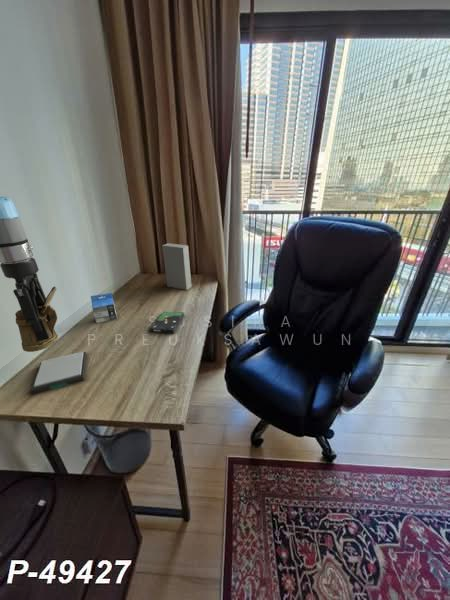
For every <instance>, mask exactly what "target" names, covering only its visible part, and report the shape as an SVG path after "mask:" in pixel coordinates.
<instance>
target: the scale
mask: <svg viewBox="0 0 450 600" xmlns="http://www.w3.org/2000/svg"><path fill="white" fill-rule="evenodd" d="M87 356H88V355H87V352H86V351H79V352H74V353H71V354H66V355H62V356H58V357H53V358H49V359H45V360H42V361H41V362H40V363H39V366H38V368H37V371H36V374H35V377H34V380H33V383H32V386H31V389H30V393H31V394H32V395H36V394H40V393H43V392H47V391H51V390H56V389H59V388H61V387H66V386H69V385H73V384H76V383H80V382H84V381H85V377H86V365H87Z"/></svg>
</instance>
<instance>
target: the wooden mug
mask: <svg viewBox="0 0 450 600" xmlns="http://www.w3.org/2000/svg"><path fill="white" fill-rule="evenodd" d="M56 291H57V287H56V286H55V285H54V286H53V287H52V288H51V290H50V291H49V292H48V294H47V296H45V297H46V299H45V301H44V303H43V305H42V306H41V307H37V308H38V312H39V316H40V319H42V320H43V322H44V325H45V327H46V330H47V332H48V335H49V339H46V340H41V341H38V339H37V337H36V335H35V332H34V330H33V328H32V325H31V323H29V324H27V323H26V322H25V318H24V315H23V313H22V310H21V309H19V310H17V311H16V312H15V324H16V325H17V327H18V331H19V335H20V339H21V340H20V341H21V348H22V351H24V352H27V353H31V352H32V353H34V352H39V351H42V350H45V349H47V348H49V347H51V346H52V345H54V344H55V343H56V342H57V340H58V339H59V335H58V333H57V332H56V331H55V326H56V324H57V320H58V313H57V312H56V310H55V308H54V307H53V306H51V305H50V303H51V302H52V299H53V297H54V295H55V293H56ZM46 314H48V315H49V316H50V317H51V320H50V321H47V319H46Z"/></svg>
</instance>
